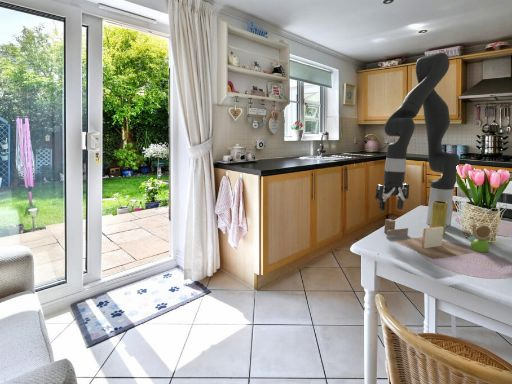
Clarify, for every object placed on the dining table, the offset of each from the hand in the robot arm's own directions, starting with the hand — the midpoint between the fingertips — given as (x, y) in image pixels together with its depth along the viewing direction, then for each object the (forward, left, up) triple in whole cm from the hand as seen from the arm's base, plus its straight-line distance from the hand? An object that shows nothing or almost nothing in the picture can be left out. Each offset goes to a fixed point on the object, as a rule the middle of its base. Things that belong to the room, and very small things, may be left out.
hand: (390, 209), depth 128 cm
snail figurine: (-17, +25, -12) cm, 32 cm away
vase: (-20, +5, -12) cm, 24 cm away
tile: (-4, +17, -10) cm, 20 cm away
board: (-4, +17, -11) cm, 21 cm away
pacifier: (-26, +17, -12) cm, 33 cm away
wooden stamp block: (0, +2, -11) cm, 11 cm away
